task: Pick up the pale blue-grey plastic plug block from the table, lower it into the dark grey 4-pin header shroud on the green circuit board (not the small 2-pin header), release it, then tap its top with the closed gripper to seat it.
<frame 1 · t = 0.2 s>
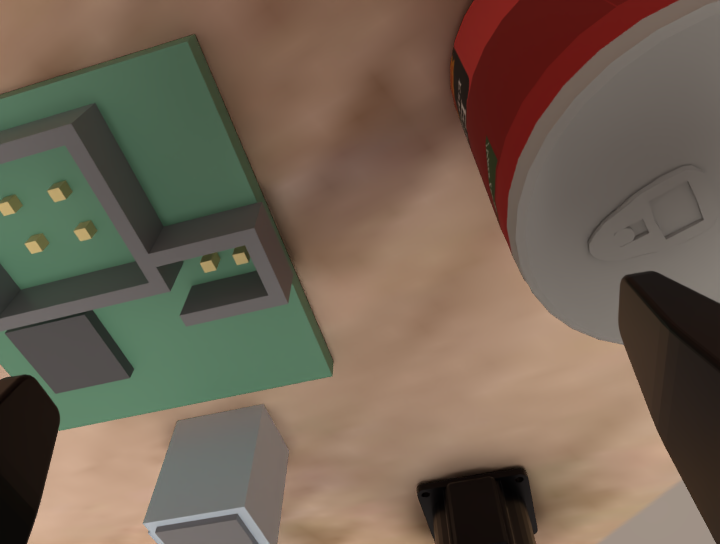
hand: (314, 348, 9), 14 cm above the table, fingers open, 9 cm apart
plug: (234, 435, 32), on the table
board: (116, 267, 25), on the table
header: (51, 214, 23), resting on board
canned food: (558, 50, 20), on the table
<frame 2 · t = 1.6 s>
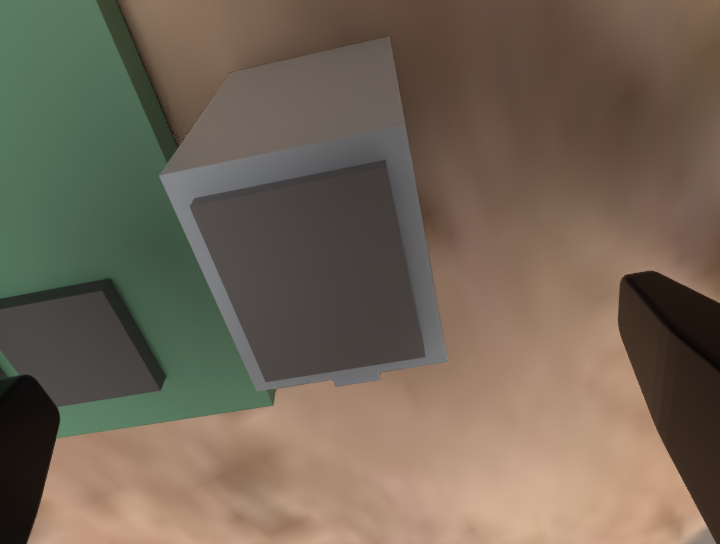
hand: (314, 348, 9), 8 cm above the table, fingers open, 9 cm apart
plug: (333, 149, 15), on the table
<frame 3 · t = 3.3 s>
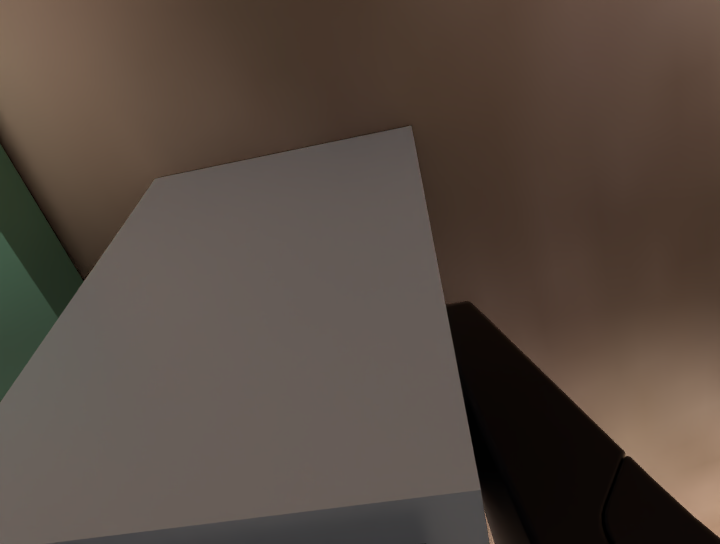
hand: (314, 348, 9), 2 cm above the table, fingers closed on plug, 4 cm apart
plug: (321, 284, 10), on the table, touching gripper
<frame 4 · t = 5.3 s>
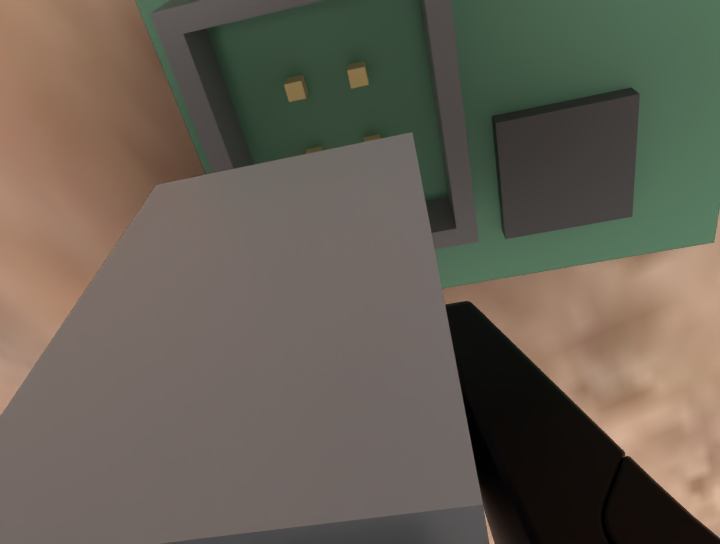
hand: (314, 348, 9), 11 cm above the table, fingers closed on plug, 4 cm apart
plug: (322, 290, 10), point 10 cm above the table, touching gripper
board: (447, 63, 17), on the table
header: (336, 115, 17), resting on board
when the fingers open (4 cm above the table, at t = 7.2 s): plug stays where it is, resting on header.
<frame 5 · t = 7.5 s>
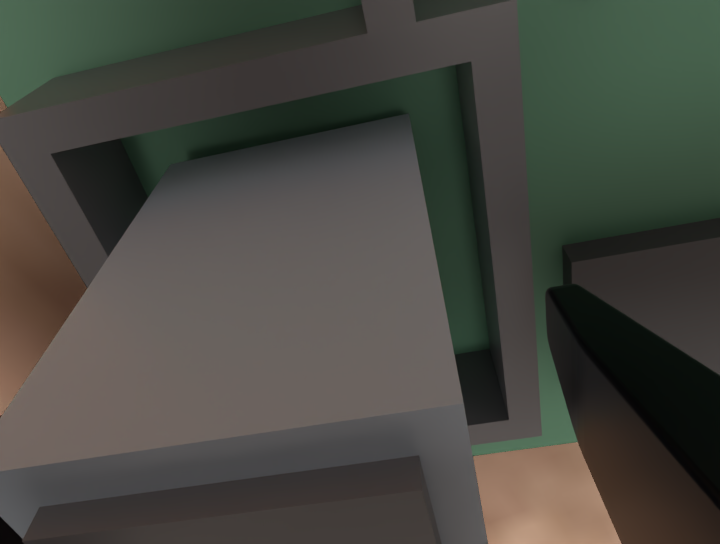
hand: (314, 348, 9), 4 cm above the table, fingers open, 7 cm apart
plug: (325, 265, 11), point 2 cm above the table, touching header
board: (493, 163, 11), on the table
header: (323, 244, 11), resting on board
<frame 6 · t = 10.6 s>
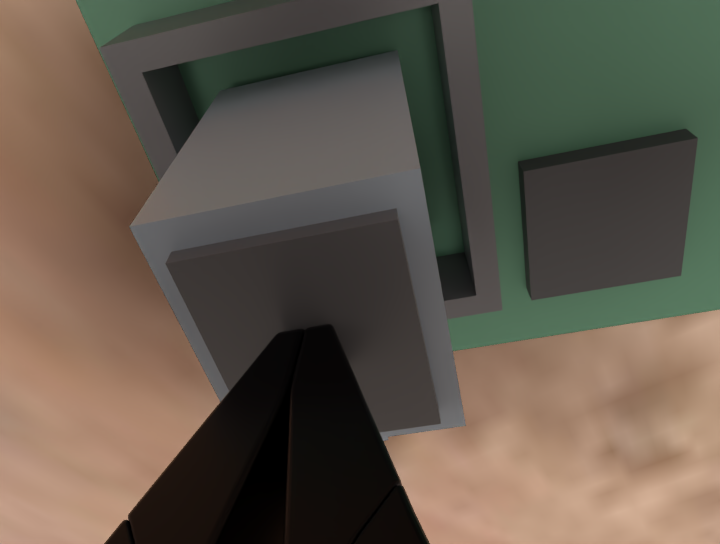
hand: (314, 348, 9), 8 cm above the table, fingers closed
plug: (334, 173, 14), point 2 cm above the table, touching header
board: (465, 98, 14), on the table
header: (333, 160, 14), resting on board
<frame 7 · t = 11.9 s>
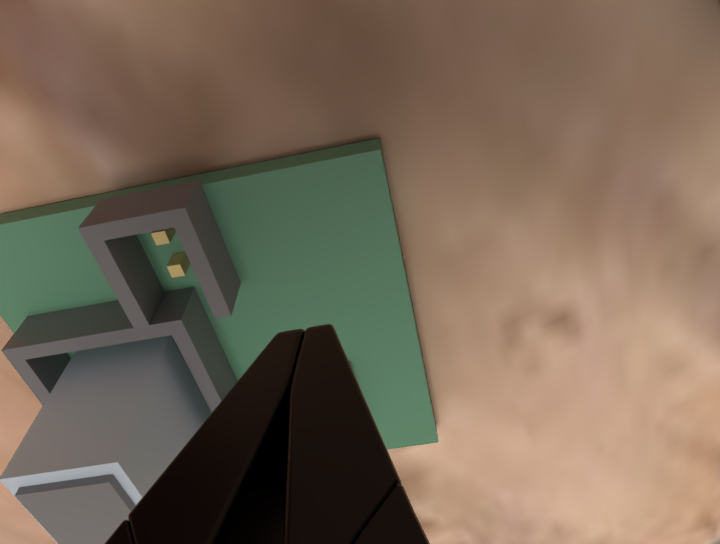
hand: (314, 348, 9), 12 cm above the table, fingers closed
plug: (148, 385, 24), point 2 cm above the table, touching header
board: (229, 337, 25), on the table
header: (150, 374, 25), resting on board
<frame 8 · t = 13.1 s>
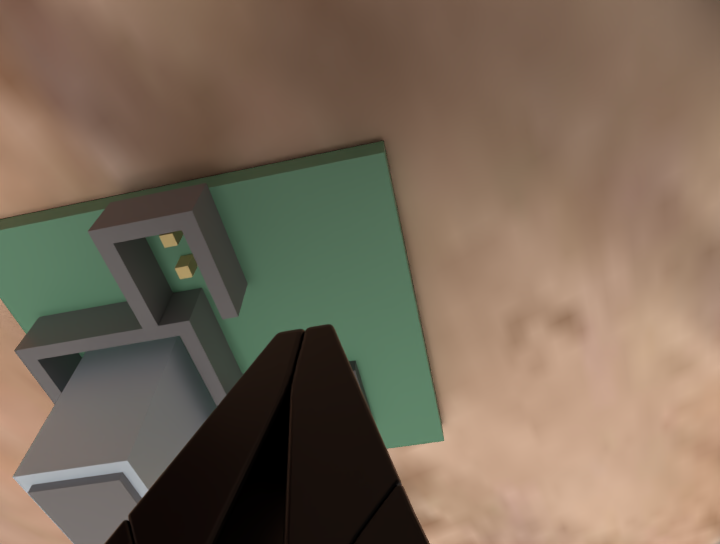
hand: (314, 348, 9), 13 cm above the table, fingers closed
plug: (157, 385, 24), point 2 cm above the table, touching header
board: (236, 337, 25), on the table
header: (160, 373, 25), resting on board
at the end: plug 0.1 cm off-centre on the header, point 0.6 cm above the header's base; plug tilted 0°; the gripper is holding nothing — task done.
